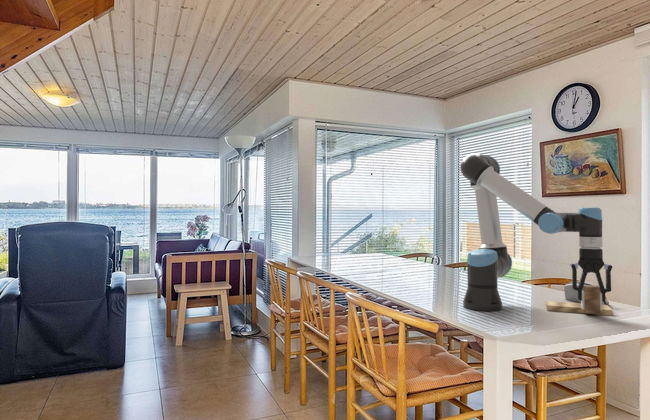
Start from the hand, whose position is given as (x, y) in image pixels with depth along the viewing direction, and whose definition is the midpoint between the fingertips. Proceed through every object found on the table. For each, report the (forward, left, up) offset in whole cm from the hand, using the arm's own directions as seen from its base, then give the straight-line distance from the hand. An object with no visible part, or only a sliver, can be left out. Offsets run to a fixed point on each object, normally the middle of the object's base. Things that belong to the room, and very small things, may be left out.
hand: (591, 309), depth 162 cm
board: (-4, +7, -2) cm, 8 cm away
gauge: (0, +6, -1) cm, 6 cm away
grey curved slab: (+2, +25, -3) cm, 26 cm away
